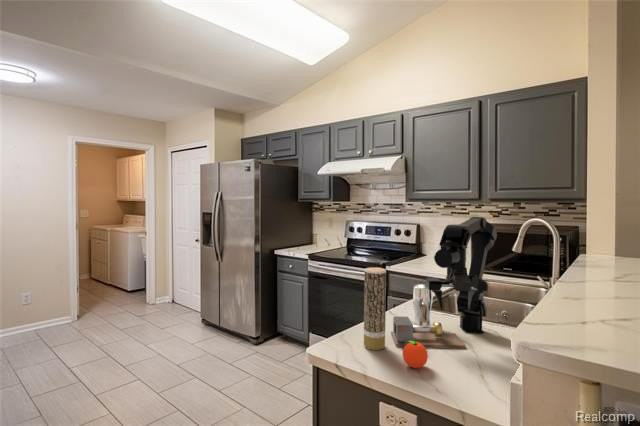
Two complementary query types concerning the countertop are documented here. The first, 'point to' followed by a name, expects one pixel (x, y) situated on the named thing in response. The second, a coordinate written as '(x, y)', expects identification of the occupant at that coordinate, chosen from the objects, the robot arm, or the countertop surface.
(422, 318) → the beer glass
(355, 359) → the countertop surface
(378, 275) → the brown patterned cylinder
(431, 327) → the shaft
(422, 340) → the base board
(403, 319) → the bearing block
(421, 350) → the clementine
